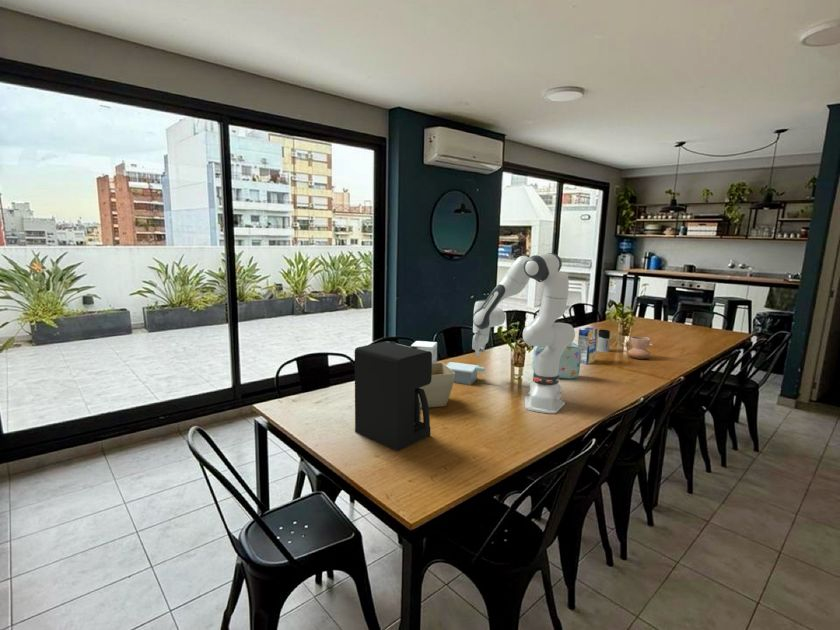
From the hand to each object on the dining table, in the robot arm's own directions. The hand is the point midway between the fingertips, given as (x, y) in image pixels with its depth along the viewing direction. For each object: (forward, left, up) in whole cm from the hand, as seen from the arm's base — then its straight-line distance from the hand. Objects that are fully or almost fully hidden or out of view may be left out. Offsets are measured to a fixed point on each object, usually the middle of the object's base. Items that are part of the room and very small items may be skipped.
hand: (479, 354), depth 241 cm
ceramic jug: (+103, -83, -16) cm, 133 cm away
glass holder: (+112, -63, -16) cm, 130 cm away
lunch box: (+31, -37, -16) cm, 51 cm away
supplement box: (+4, +35, -16) cm, 39 cm away
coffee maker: (-80, +11, -16) cm, 82 cm away
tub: (0, +11, -16) cm, 19 cm away
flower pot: (-41, +13, -16) cm, 46 cm away
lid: (0, +8, -10) cm, 13 cm away
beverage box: (+74, -51, -16) cm, 91 cm away
